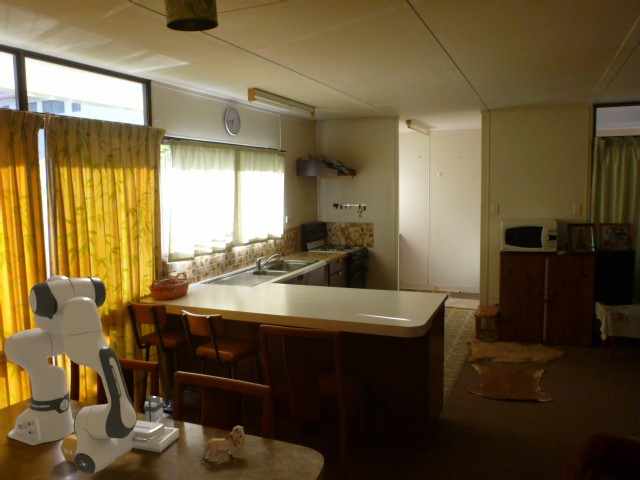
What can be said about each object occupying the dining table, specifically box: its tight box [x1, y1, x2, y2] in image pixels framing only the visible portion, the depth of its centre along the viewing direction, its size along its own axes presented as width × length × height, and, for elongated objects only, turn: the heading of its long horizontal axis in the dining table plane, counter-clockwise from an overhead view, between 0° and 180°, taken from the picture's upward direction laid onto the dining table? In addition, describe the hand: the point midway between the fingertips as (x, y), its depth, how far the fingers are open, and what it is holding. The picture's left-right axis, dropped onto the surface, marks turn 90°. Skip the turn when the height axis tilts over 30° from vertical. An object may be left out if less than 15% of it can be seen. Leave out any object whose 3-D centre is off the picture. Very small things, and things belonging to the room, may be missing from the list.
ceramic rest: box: [131, 426, 180, 453], centre depth 180 cm, size 11×11×3 cm
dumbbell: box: [60, 433, 77, 464], centre depth 176 cm, size 19×9×8 cm, turn 158°
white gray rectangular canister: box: [143, 395, 165, 442], centre depth 180 cm, size 4×5×15 cm
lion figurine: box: [200, 425, 245, 463], centre depth 169 cm, size 15×5×9 cm, turn 120°
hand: (147, 418), depth 176 cm, fingers open, 8 cm apart
